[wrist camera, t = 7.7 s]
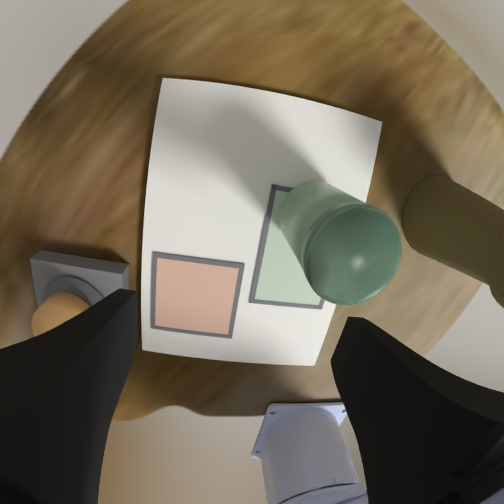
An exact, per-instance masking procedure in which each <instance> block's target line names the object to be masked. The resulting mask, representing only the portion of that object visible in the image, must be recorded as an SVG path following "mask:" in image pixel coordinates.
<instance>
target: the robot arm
mask: <svg viewBox="0 0 504 504" xmlns="http://www.w3.org/2000/svg"><path fill="white" fill-rule="evenodd" d="M137 342H138V335H137V291H133V290H128V289H122V288H119V289H117V290H116V291H114V292H112V293H111V294H109V295H108V296H106V297H105V298H103V299H102V300H100V301H99V302H97V303H95V304H94V305H92V306H91V307H89V308H88V309H86V310H84V311H83V312H81V313H80V314H78V315H76V316H74V317H73V318H71V319H69V320H67V321H65V322H64V323H62V324H60V325H59V326H57V327H55V328H53V329H51V330H49V331H47V332H44V333H42V334H40V335H38V336H35V337H33V338H31V339H28V340H26V341H23V342H20V343H17V344H14V345H11V346H8V347H5V348H2V349H0V504H97V503H98V492H99V483H100V475H101V467H102V461H103V456H104V450H105V445H106V440H107V435H108V431H109V427H110V423H111V420H112V416H113V414H114V411H115V408H116V405H117V403H118V400H119V397H120V395H121V392H122V389H123V387H124V384H125V382H126V379H127V376H128V374H129V371H130V368H131V366H132V362H133V358H134V354H135V350H136V346H137ZM330 361H331V366H332V371H333V375H334V379H335V383H336V386H337V389H338V392H339V394H340V397H341V399H342V402H332V403H273V404H270V405H269V406H268V408H267V411H266V414H265V417H264V420H263V423H262V426H261V429H260V431H259V434H258V437H257V440H256V443H255V445H254V448H253V451H252V454H251V455H252V457H253V458H261V463H262V470H263V477H264V484H265V492H266V498H267V502H268V504H504V393H503V392H499V391H496V390H492V389H488V388H486V387H483V386H480V385H477V384H475V383H472V382H470V381H467V380H464V379H462V378H460V377H458V376H456V375H454V374H452V373H450V372H448V371H446V370H444V369H442V368H440V367H438V366H437V365H435V364H433V363H431V362H430V361H428V360H427V359H425V358H424V357H422V356H420V355H419V354H417V353H416V352H414V351H413V350H411V349H410V348H408V347H407V346H405V345H404V344H402V343H401V342H400V341H398V340H397V339H395V338H394V337H392V336H391V335H390V334H388V333H387V332H385V331H384V330H382V329H381V328H379V327H378V326H376V325H375V324H373V323H372V322H370V321H368V320H366V319H364V318H360V317H348V318H347V321H346V324H345V326H344V329H343V331H342V334H341V336H340V339H339V341H338V344H337V346H336V349H335V351H334V353H333V356H332V358H331V360H330ZM346 414H348V417H349V419H350V422H351V425H352V427H353V430H354V432H355V435H356V438H357V442H358V445H359V450H360V454H361V458H362V463H363V468H364V474H365V479H366V486H367V490H365V487H364V484H363V482H359V480H358V477H357V474H356V471H355V469H354V466H353V463H352V460H351V458H350V455H349V452H348V449H347V447H346V444H345V441H344V438H343V436H342V433H341V430H340V427H339V426H340V424H341V422H342V421H343V419H344V417H345V416H346Z"/></svg>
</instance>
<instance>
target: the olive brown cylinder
mask: <svg viewBox="0 0 504 504" xmlns="http://www.w3.org/2000/svg"><path fill="white" fill-rule="evenodd" d="M403 229H404V233H405V237H406V240H407V241H408V243H409V244H410V246H411V248H413V249H414V250H416V251H417V252H418V253H420V254H422V255H425V256H427V257H429V258H432V259H434V260H436V261H438V262H440V263H443V264H445V265H447V266H449V267H451V268H454V269H456V270H458V271H460V272H462V273H464V274H467V275H469V276H471V277H473V278H475V279H477V280H479V281H481V282H483V283H485V284H487V285H489V286H490V290H491V293H492V295H493V297H494V298H495V300H496V301H497V303H499V304H500V305H501V306H502V307H503V308H504V210H503V209H501V208H499V207H498V206H496V205H495V204H493V203H491V202H490V201H488V200H486V199H485V198H483V197H481V196H479V195H478V194H476V193H474V192H472V191H470V190H469V189H467V188H465V187H463V186H461V185H459V184H458V183H456V182H454V181H452V180H450V179H448V178H445V177H443V176H430V177H428V178H426V179H425V180H423V181H421V182H420V183H419V184H418V185H417V186H416V187H415V188H414V189H413V191H412V193H411V194H410V196H409V198H408V200H407V202H406V206H405V210H404V214H403Z"/></svg>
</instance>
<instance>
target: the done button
mask: <svg viewBox="0 0 504 504" xmlns="http://www.w3.org/2000/svg"><path fill="white" fill-rule="evenodd" d="M89 307H90V306H89V305H88V304H87V303H86V302H84V301H83V300H82V299H80V298H79V297H77V296H75V295H73V294H70V293H66V292H57V293H53V294H52V295H50V296H49V297H48V298H47V299H46V300H45V301H44V302H43V303H42V305H41V306H40V307H39V308H38V309H37V310H36V311H35V313H34V314H33V316H32V321H31V325H32V331H33V334H34V337H35V336H38V335H40V334H42V333H44V332H47V331H49V330H51V329H53V328H55V327H57V326H59V325H60V324H62V323H64V322H65V321H67V320H69V319H71V318H73V317H74V316H76V315H78V314H80V313H81V312H83V311H84V310H86V309H88V308H89Z"/></svg>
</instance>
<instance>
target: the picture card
mask: <svg viewBox="0 0 504 504" xmlns="http://www.w3.org/2000/svg"><path fill="white" fill-rule="evenodd" d="M381 127H382V122H381V121H378V120H375V119H372V118H369V117H366V116H363V115H360V114H356V113H353V112H350V111H347V110H343V109H340V108H336V107H333V106H329V105H325V104H322V103H318V102H314V101H310V100H306V99H302V98H298V97H293V96H289V95H284V94H279V93H275V92H269V91H264V90H259V89H253V88H247V87H241V86H235V85H228V84H221V83H213V82H205V81H195V80H184V79H172V78H163V79H162V85H161V90H160V95H159V101H158V106H157V112H156V118H155V125H154V131H153V138H152V145H151V153H150V161H149V170H148V179H147V189H146V200H145V212H144V227H143V245H142V273H141V326H142V350H145V351H152V352H158V353H165V354H172V355H179V356H187V357H195V358H203V359H212V360H222V361H233V362H246V363H260V364H279V365H308V366H314V365H315V362H316V360H317V357H318V354H319V352H320V349H321V346H322V344H323V341H324V338H325V335H326V333H327V330H328V327H329V324H330V321H331V318H332V315H333V313H334V310H335V307H336V304H333V303H330V302H327V301H325V300H324V299H322V298H321V297H319V296H318V295H317V294H316V293H315V292H314V291H313V289H312V288H311V286H310V284H309V283H308V281H307V279H306V277H305V275H304V272H303V269H302V267H301V265H300V264H299V262H298V260H297V258H296V256H295V255H294V253H293V251H292V249H291V247H290V246H289V244H288V242H287V240H286V239H285V237H284V235H283V233H282V231H281V228H280V224H279V211H280V207H281V204H282V202H283V200H284V198H285V197H286V196H287V194H288V193H289V192H290V191H291V190H292V189H293V188H295V187H296V186H298V185H300V184H302V183H305V182H309V181H321V182H325V183H328V184H330V185H332V186H334V187H336V188H338V189H340V190H342V191H344V192H346V193H347V194H349V195H351V196H353V197H355V198H357V199H359V200H361V201H362V202H364V203H366V199H367V194H368V190H369V186H370V181H371V177H372V172H373V168H374V163H375V158H376V153H377V148H378V143H379V138H380V133H381Z"/></svg>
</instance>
